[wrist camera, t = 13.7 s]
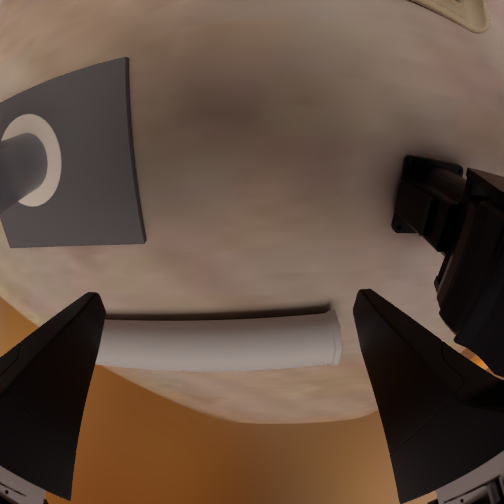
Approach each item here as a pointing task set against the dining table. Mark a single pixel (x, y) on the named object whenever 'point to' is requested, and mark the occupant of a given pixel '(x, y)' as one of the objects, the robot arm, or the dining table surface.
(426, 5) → the wooden puzzle
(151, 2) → the dining table surface
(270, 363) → the tube
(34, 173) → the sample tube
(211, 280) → the dining table surface
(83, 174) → the mat
